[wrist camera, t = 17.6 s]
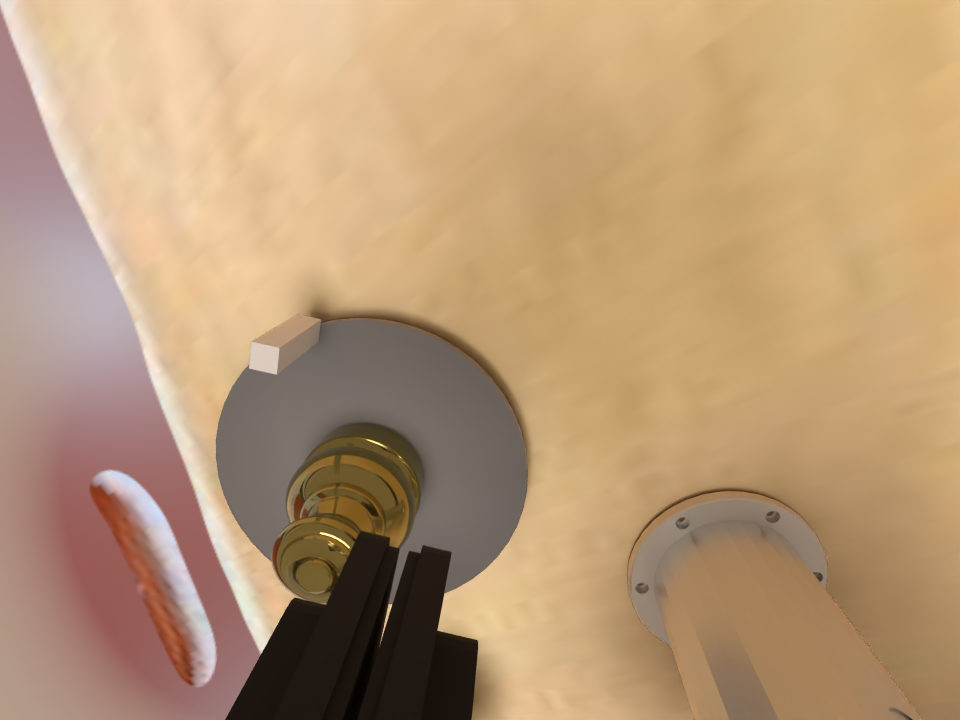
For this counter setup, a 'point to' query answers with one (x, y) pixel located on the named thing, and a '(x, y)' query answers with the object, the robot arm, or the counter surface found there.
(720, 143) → the counter surface
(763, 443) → the counter surface
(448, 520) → the disc
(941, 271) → the counter surface
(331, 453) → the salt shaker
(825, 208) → the counter surface
